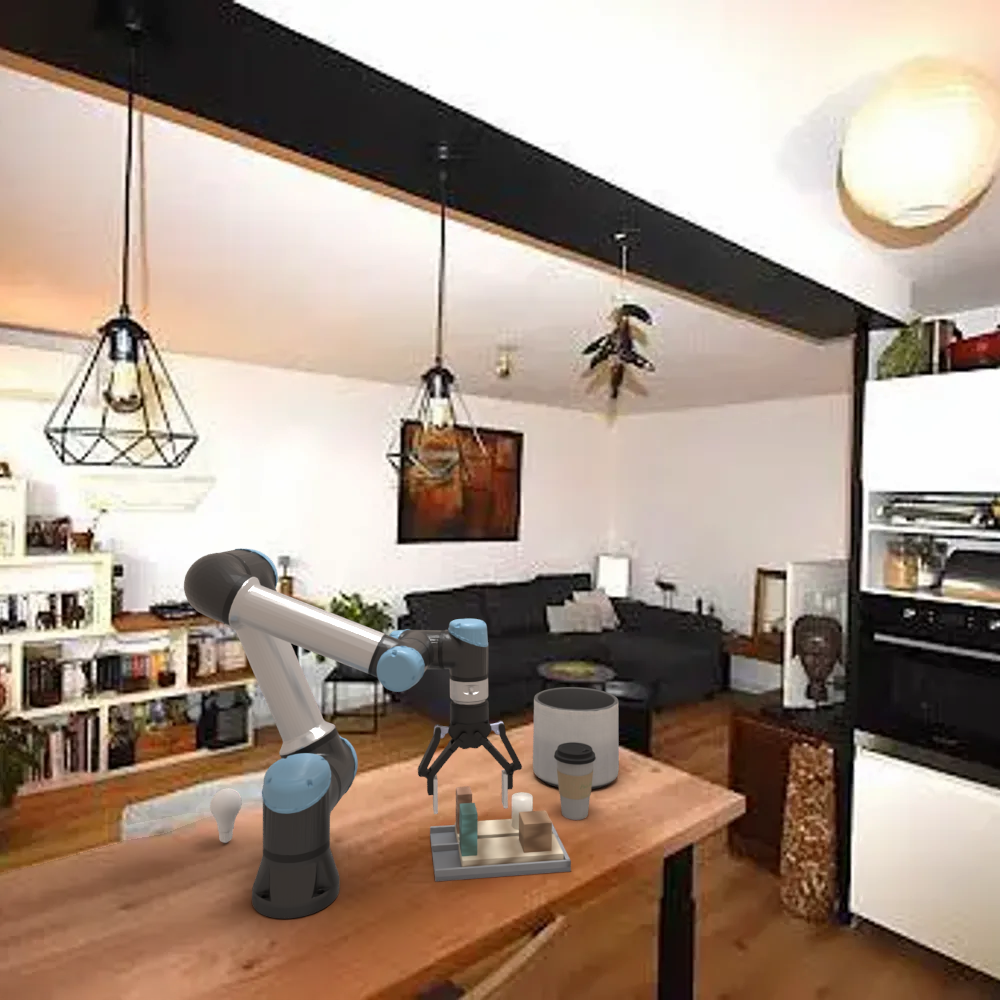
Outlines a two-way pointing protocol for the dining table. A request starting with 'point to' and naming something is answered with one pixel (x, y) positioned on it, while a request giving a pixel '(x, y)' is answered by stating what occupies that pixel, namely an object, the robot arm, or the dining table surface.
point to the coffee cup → (574, 778)
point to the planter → (576, 730)
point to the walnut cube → (535, 831)
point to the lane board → (451, 869)
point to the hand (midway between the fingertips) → (470, 808)
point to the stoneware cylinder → (520, 806)
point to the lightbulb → (225, 811)
